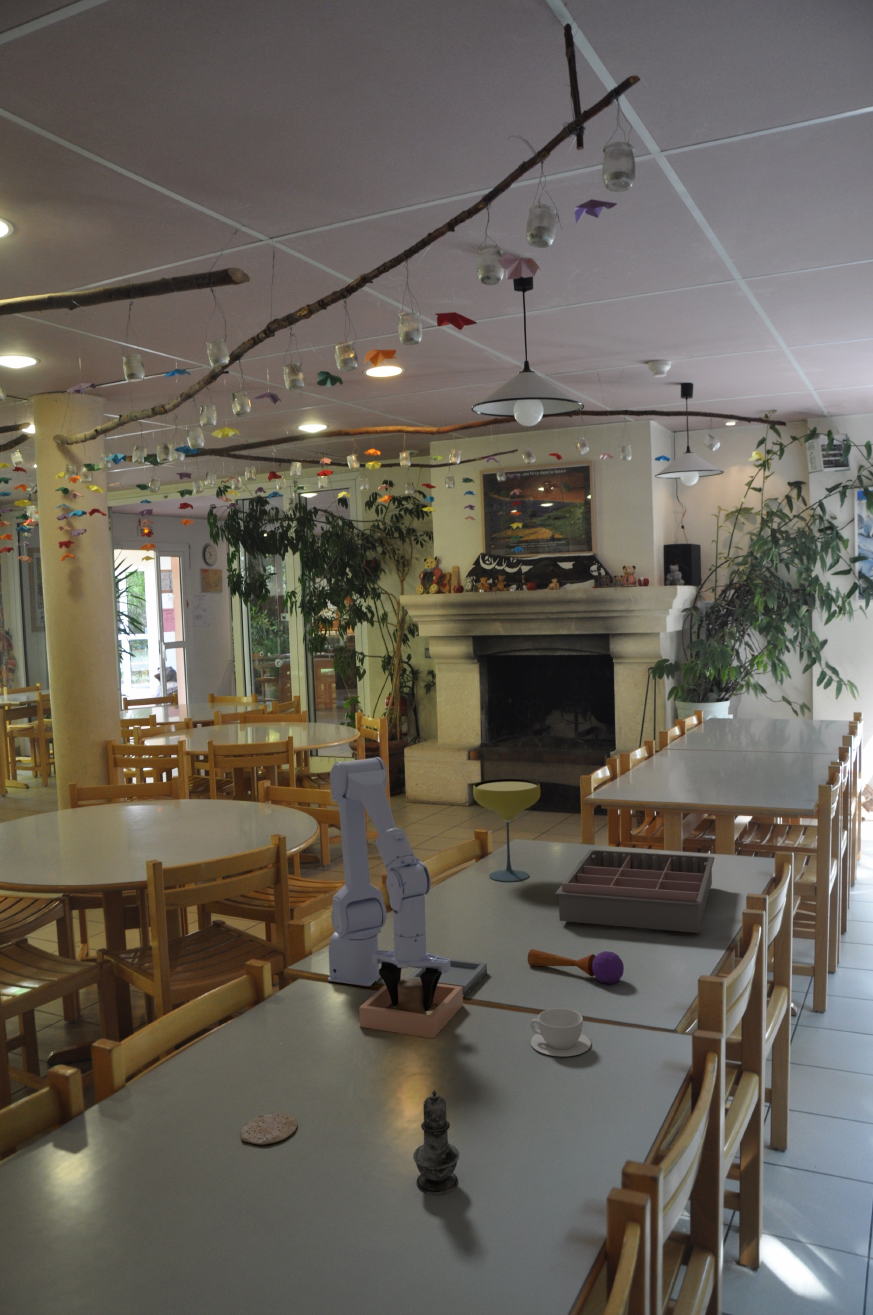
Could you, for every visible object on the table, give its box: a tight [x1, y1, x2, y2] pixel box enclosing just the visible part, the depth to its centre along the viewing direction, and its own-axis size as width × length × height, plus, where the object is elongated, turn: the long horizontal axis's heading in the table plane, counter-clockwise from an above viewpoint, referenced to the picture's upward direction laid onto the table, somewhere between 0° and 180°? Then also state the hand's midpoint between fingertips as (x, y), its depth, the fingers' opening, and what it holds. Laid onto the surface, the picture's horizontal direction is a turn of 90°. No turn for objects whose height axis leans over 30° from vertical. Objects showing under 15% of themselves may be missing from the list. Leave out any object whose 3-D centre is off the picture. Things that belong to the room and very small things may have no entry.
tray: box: [407, 957, 488, 997], centre depth 185 cm, size 12×12×2 cm
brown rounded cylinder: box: [397, 977, 427, 1014], centre depth 169 cm, size 5×5×6 cm
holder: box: [358, 978, 464, 1039], centre depth 169 cm, size 14×14×4 cm
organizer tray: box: [555, 849, 715, 934], centre depth 227 cm, size 32×40×10 cm
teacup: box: [530, 1007, 592, 1057], centre depth 157 cm, size 10×10×5 cm
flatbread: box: [240, 1112, 299, 1146], centre depth 133 cm, size 8×8×1 cm
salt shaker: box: [412, 1089, 460, 1196], centre depth 120 cm, size 6×6×12 cm
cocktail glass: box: [472, 778, 541, 883], centre depth 255 cm, size 18×18×25 cm
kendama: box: [527, 948, 625, 985], centre depth 186 cm, size 6×6×20 cm
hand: (412, 1006), depth 169 cm, fingers open, 6 cm apart
